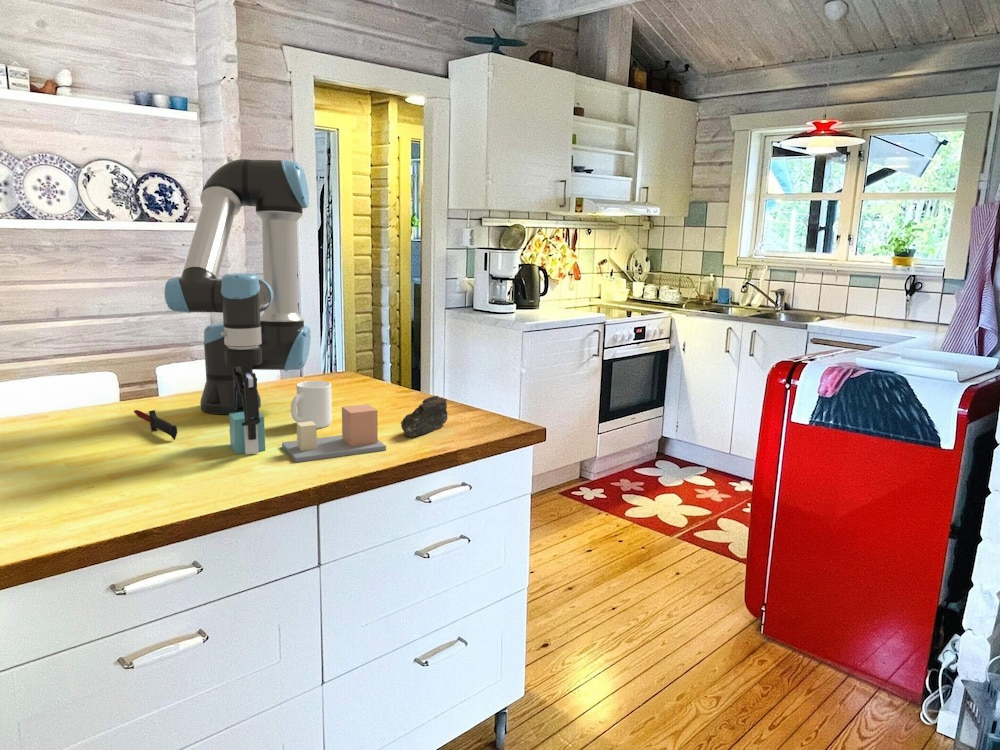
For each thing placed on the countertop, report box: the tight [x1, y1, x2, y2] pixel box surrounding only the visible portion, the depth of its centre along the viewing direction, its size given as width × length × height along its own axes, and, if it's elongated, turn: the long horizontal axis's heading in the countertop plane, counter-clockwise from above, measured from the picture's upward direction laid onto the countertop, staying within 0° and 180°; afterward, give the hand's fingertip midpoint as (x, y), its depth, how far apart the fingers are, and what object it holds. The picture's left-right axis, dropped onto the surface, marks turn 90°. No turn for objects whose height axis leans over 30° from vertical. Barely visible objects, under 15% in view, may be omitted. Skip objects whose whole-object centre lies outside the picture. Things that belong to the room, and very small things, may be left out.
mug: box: [290, 380, 333, 429], centre depth 175 cm, size 12×8×10 cm
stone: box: [400, 395, 448, 438], centre depth 174 cm, size 7×8×15 cm
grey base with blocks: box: [281, 403, 387, 463], centre depth 158 cm, size 12×20×9 cm, turn 120°
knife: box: [133, 409, 178, 441], centre depth 168 cm, size 24×2×5 cm, turn 47°
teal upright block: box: [228, 411, 266, 455], centre depth 157 cm, size 6×6×8 cm
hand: (247, 447), depth 157 cm, fingers open, 8 cm apart
